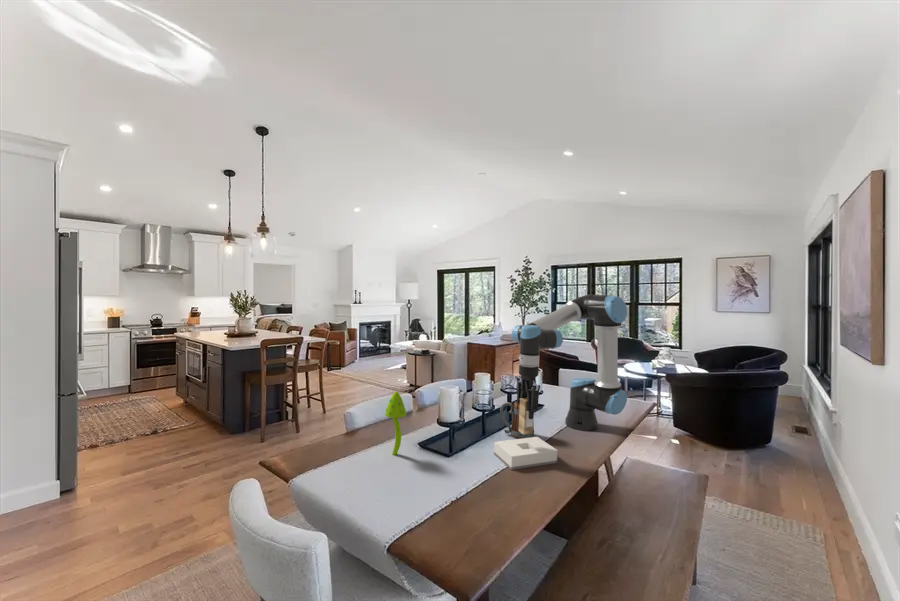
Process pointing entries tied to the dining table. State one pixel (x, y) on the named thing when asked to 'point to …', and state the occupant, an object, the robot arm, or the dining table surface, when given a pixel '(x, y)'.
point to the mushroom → (396, 417)
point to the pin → (524, 417)
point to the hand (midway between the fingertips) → (525, 424)
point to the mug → (514, 421)
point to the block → (525, 452)
